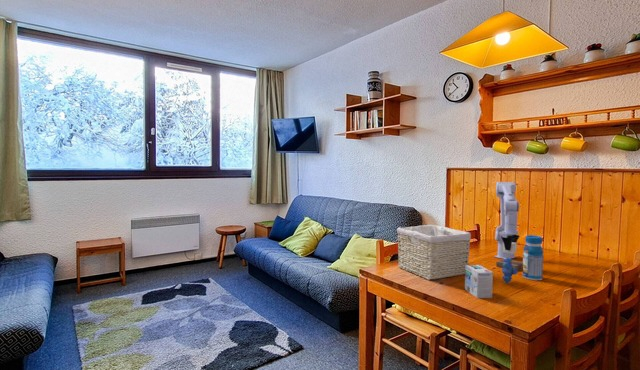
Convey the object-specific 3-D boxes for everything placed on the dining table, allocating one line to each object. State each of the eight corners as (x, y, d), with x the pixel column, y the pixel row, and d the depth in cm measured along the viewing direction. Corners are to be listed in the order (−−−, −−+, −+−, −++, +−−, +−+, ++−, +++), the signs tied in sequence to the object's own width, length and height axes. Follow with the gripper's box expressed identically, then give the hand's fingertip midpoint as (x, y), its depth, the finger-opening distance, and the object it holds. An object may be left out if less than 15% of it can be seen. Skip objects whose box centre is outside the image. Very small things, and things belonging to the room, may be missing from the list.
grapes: (515, 288, 154) (516, 261, 153) (498, 285, 158) (499, 259, 157) (519, 281, 163) (520, 256, 163) (503, 278, 167) (504, 253, 167)
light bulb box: (464, 289, 154) (464, 264, 153) (479, 288, 154) (479, 264, 154) (477, 298, 143) (477, 272, 143) (493, 298, 144) (493, 272, 143)
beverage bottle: (535, 281, 163) (537, 239, 162) (518, 276, 170) (519, 235, 169) (546, 279, 167) (548, 237, 166) (529, 274, 174) (530, 234, 173)
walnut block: (506, 264, 193) (506, 258, 193) (525, 268, 185) (525, 263, 185) (496, 267, 187) (496, 261, 187) (515, 272, 179) (515, 266, 179)
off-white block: (506, 250, 190) (506, 241, 189) (516, 252, 186) (516, 242, 185) (502, 251, 186) (502, 242, 186) (512, 253, 183) (512, 244, 182)
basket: (433, 261, 198) (434, 222, 197) (472, 274, 174) (473, 231, 173) (394, 267, 187) (395, 226, 185) (430, 282, 163) (431, 236, 161)
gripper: (508, 221, 193) (508, 245, 194) (496, 224, 184) (495, 250, 184) (522, 223, 187) (521, 248, 188) (510, 226, 178) (510, 252, 179)
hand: (510, 249), depth 186 cm, fingers closed on off-white block, 5 cm apart
